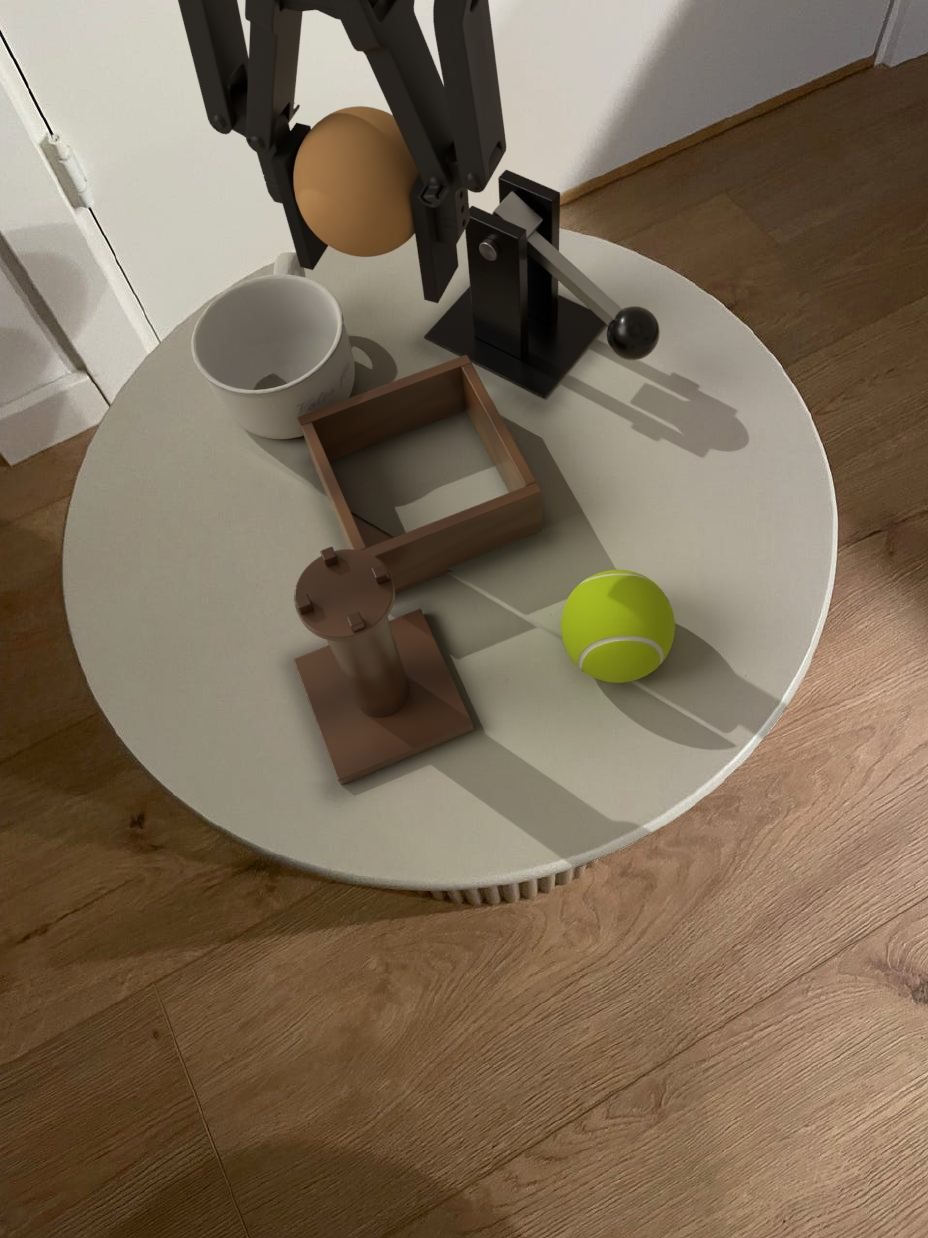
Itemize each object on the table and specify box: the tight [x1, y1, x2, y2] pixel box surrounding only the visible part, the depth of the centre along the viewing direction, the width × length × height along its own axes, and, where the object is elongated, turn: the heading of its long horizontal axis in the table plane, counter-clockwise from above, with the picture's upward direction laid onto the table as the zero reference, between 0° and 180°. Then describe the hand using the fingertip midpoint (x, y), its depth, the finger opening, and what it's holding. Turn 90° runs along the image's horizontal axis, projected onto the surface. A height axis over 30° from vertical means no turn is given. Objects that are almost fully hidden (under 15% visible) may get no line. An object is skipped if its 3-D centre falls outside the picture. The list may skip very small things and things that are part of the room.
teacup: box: [190, 251, 356, 440], centre depth 73 cm, size 14×11×8 cm
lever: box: [491, 191, 661, 362], centre depth 68 cm, size 14×4×4 cm, turn 54°
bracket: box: [423, 169, 607, 400], centre depth 72 cm, size 11×9×13 cm
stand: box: [293, 546, 475, 786], centre depth 58 cm, size 9×9×15 cm
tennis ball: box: [560, 569, 676, 684], centre depth 62 cm, size 7×7×7 cm
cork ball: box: [293, 105, 420, 258], centre depth 47 cm, size 6×6×6 cm
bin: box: [297, 355, 543, 595], centre depth 69 cm, size 13×13×6 cm
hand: (378, 265), depth 52 cm, fingers closed on cork ball, 6 cm apart
